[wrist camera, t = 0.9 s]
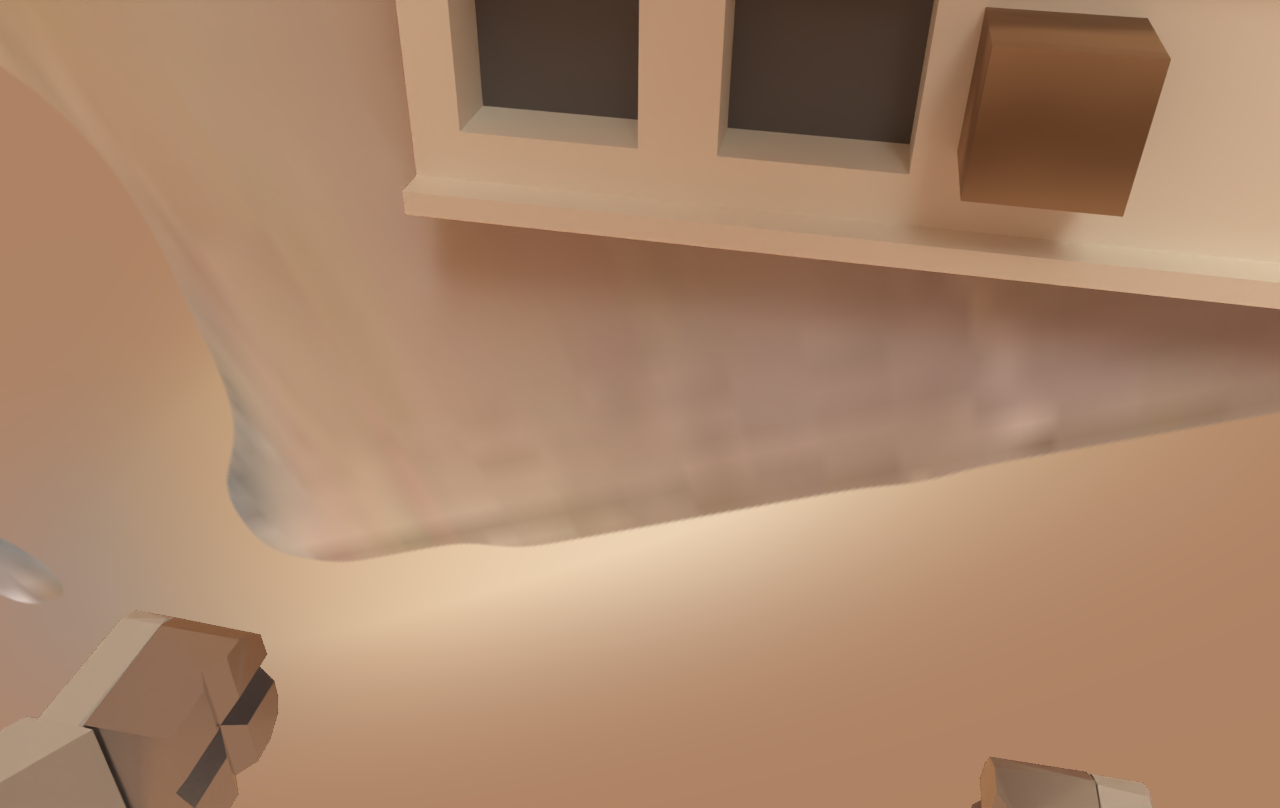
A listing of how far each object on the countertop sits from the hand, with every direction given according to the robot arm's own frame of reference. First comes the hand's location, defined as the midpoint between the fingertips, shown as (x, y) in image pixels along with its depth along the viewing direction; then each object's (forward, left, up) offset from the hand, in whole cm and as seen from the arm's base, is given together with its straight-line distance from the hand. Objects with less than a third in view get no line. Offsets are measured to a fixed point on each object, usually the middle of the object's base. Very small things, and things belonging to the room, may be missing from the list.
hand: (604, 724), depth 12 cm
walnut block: (+3, +8, -30) cm, 31 cm away
